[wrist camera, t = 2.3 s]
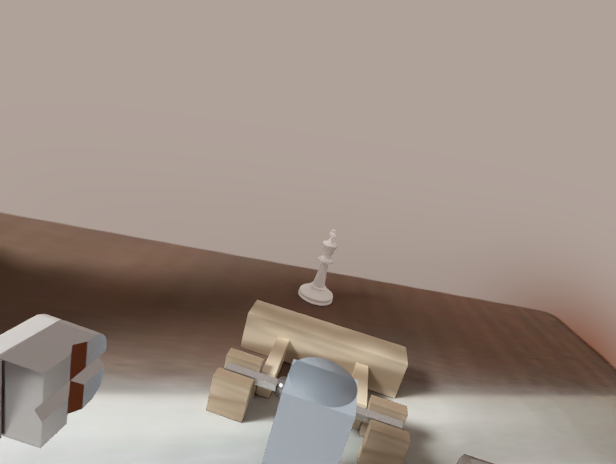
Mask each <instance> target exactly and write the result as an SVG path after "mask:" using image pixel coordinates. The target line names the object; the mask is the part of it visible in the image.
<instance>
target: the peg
mask: <svg viewBox="0 0 616 464" xmlns="http://www.w3.org/2000/svg"><path fill="white" fill-rule="evenodd" d="M357 391H358V380H356V379H354V378H353V377H352V376H351V374H350V373H349V372H348V371H347V370H346V369H344V368H343V367H342V366H340V365H338V364H337V363H335V362H332V361H330V360H327V359H323V358H317V357H307V358H303V359H300V360H295V359H293V362H292V365H291V368H290V371H289V373H288V376H287V379H286V382H285V385H284V388H283V390H282V394H281V397H280V401H279V404H278V408H277V411H276V415H275V418H274V422H273V425H272V429H271V432H270V436H269V439H268V443H267V447H266V450H265V454H264V457H263V461H262V464H339V461H340V458H341V456H342V453H343V450H344V447H345V445H346V442H347V439H348V436H349V434H350V431H351V428H352V425H353V423H354V420H355V417H356V404H357Z"/></svg>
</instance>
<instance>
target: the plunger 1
mask: <svg viewBox="0 0 616 464" xmlns="http://www.w3.org/2000/svg"><path fill="white" fill-rule="evenodd" d="M224 369H225V370H228V371H231V372H234V373H237V374H239V375H242V376H245V377H248V378H251V379H254V383H253V384H254V385H257V386H260V387H263V388H266V389H269V390H272V391H275V394H276V396H277V397H278V398H280V397H281V394H282V390H283V388H284V385H285V382H286V379H287V377H286V376H282V377H280V378H279V379H277V378H274V377H271V376H268V375H265V374H262V373H259V372H256V371H253V370H250V369H247V368H245V367H242V366H239V365H236V364H233V363H230V362H228V363H227V365H226V366H225V368H224Z"/></svg>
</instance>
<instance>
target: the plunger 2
mask: <svg viewBox="0 0 616 464" xmlns="http://www.w3.org/2000/svg"><path fill="white" fill-rule="evenodd" d="M355 419H356V420H359V421H362V422H365V423H368V424H369V423H370V420H371V419H372V420H375V421H378V422H381V423H384V424H387V425H390V426H393V427H396V428H399V429H402V430H403V423H402V421H401V420H398V419H395V418H392V417H389V416H386V415H383V414H380V413H377V412H374V411H371V410H368V409H365V408H362V407H359V406H356V417H355Z"/></svg>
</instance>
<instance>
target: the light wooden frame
mask: <svg viewBox="0 0 616 464" xmlns="http://www.w3.org/2000/svg"><path fill="white" fill-rule="evenodd" d="M240 347H242V348H245V349H248V350H251V351H254V352H257V353H260V354H263V355H266V356H268V358H267V360H266V363H265V365H264V367H263V369H262V365H263V362H264V359H263V358H260V357H257V356H254V355H251V354H248V353H245V352H242V351H239V350H236V349H233V348H231V349H230V350H229V352H228V353H227V356H226V361H225V365H224V368H225V366H226V365H227V363H228V362H230V363H233V364H236V365H239V366H242V367H245V368H247V369H250V370H253V371H256V372H259V373H262V374H265V375H268V376H271V377H274V378H277V377H278V374H279V371H280V369H281V366H282V364H283V361H284V362H287V363H290V364H292V362H293V359H295V360H300V359H303V358H307V357H317V358H323V359H327V360H330V361H332V362H335V363H337V364H338V365H340V366H342V367H343V368H344V369H346V370H347V371H348V372H349V373H350V374H351V376H352V377H353V378H354V379H356V380H358V391H357V404H356V406H359V407H362V408H365V409H368V410H371V411H374V412H377V413H380V414H383V415H386V416H389V417H392V418H395V419H398V420H401V421H402V423H403V425H404V423H405V420H406V418H407V416H408V413H407V406H404V405H401V404H398V403H395V402H392V401H389V400H386V399H383V398H380V397H377V396H374V395H371V397H370V400H369V402H368V405H367V391H368V390H371V391H374V392H377V393H380V394H383V395H386V396H389V397H392V398H395V396H396V394H397V391H398V389H399V386H400V384H401V381H402V379H403V376H404V374H405V371H406V369H407V366H408V360H407V352H406V347H404V346H401V345H398V344H394V343H391V342H388V341H385V340H382V339H379V338H376V337H373V336H369V335H366V334H363V333H360V332H357V331H354V330H351V329H347V328H344V327H341V326H338V325H335V324H332V323H329V322H325V321H322V320H319V319H316V318H313V317H310V316H307V315H304V314H300V313H297V312H294V311H291V310H288V309H285V308H282V307H278V306H275V305H272V304H269V303H266V302H263V301H260V300H257V301H256V302H255V304H254V305H253V307H252V308H251V310H250V311H249V312H248V316H247V320H246V324H245V329H244V333H243V337H242V342H241V346H240ZM261 369H262V372H261ZM253 383H254V379H251V378H248V377H245V376H242V375H239V374H237V373H234V372H231V371H228V370H225V369H222V368H219V367H218V369H217V370H216V372H215V373H214V375H213V379H212V384H211V388H210V393H209V398H208V403H207V407H206V410H207V411H210V412H213V413H216V414H219V415H222V416H225V417H227V418H230V419H233V420H236V421H239V422H242V420H243V418H244V416H245V414H246V410H247V406H248V402H249V398H253V396H254V394H255V392H256V394H257V395H260V396H263V397H266V398H269V397H270V394H271V392H272V390H269V389H266V388H263V387H260V386H258V387H257V385H254V384H253ZM256 389H257V391H256ZM366 407H367V408H366ZM360 423H361V424H360ZM359 426H360V429H359ZM352 427H353V428H356V429H359V435H361V436H363V437H364V438H363V441H362V444H361V446H360V449H359V452H358V464H402V461H403V459H404V457H405V454H406V452H407V450H408V448H409V445H410V443H411V441H410V432H408V431H405V430H402V429H399V428H396V427H393V426H390V425H387V424H384V423H381V422H378V421H375V420H372V419H371V420H370V423H369V424H368V423H365V422H362V421H359V420H356V419H355V420H354V423H353V425H352Z"/></svg>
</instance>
